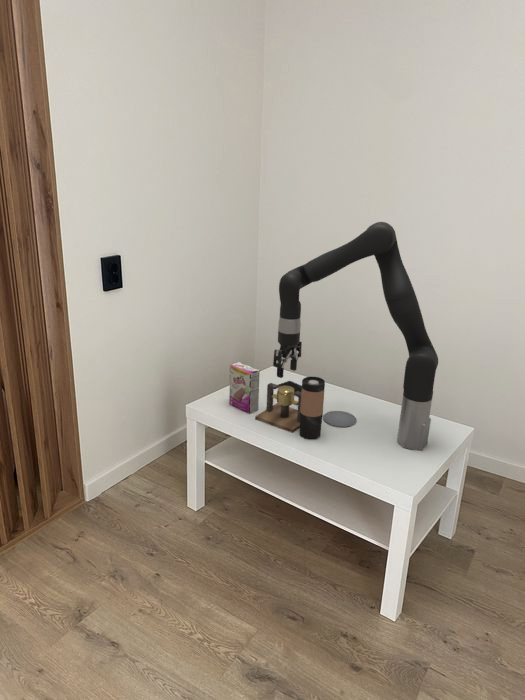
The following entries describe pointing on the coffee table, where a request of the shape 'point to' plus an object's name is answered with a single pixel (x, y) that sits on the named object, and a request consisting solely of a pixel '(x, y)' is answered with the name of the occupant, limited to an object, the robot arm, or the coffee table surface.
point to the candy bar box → (244, 387)
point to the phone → (292, 385)
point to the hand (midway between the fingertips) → (286, 373)
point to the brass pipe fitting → (285, 396)
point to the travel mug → (311, 407)
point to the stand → (280, 412)
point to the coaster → (339, 419)
